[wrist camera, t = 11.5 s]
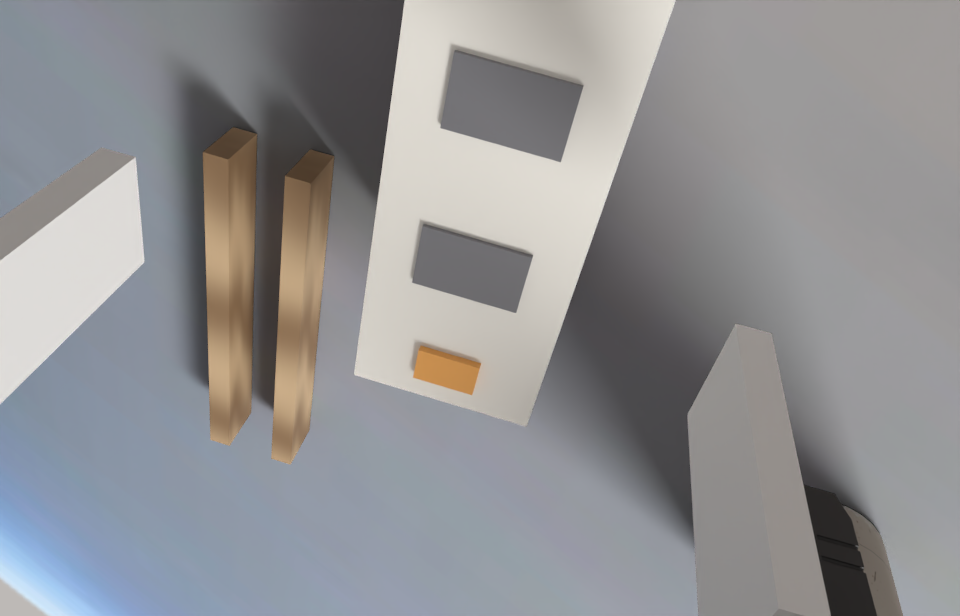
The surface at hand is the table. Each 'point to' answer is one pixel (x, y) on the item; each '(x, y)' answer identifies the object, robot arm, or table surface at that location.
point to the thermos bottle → (876, 566)
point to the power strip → (496, 188)
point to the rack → (233, 287)
